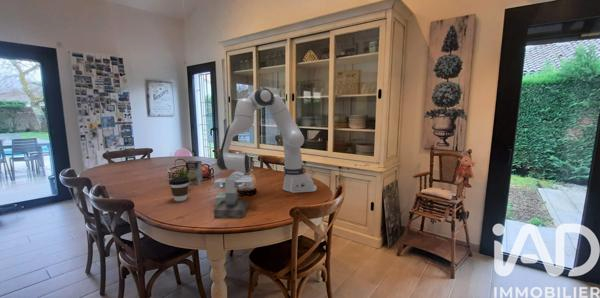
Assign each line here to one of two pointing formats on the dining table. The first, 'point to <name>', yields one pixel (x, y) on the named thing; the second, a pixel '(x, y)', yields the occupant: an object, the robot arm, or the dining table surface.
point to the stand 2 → (231, 210)
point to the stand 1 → (220, 198)
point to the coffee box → (194, 172)
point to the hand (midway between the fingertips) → (230, 187)
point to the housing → (231, 191)
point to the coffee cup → (179, 188)
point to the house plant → (183, 174)
